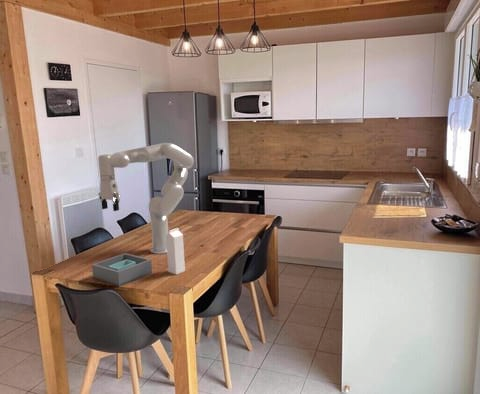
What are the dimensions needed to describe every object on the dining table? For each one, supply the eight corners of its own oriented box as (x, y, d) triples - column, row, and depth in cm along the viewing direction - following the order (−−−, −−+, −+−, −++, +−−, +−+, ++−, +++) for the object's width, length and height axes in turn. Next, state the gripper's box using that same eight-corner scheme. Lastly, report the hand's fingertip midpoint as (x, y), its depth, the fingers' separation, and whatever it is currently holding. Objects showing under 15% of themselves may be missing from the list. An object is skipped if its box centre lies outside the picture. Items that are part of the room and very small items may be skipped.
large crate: (126, 265, 221) (125, 253, 219) (152, 273, 209) (151, 259, 208) (93, 278, 205) (91, 264, 204) (119, 286, 193) (118, 272, 192)
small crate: (127, 268, 213) (126, 259, 212) (136, 271, 209) (135, 261, 208) (109, 275, 204) (108, 266, 204) (118, 278, 200) (117, 268, 199)
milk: (185, 271, 210) (183, 228, 206) (176, 274, 206) (173, 231, 202) (176, 268, 214) (174, 226, 210) (167, 272, 210) (165, 229, 206)
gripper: (123, 178, 220) (126, 210, 223) (103, 176, 230) (106, 206, 233) (112, 180, 214) (115, 212, 217) (91, 178, 224) (94, 209, 227)
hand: (110, 209), depth 225 cm, fingers open, 9 cm apart
